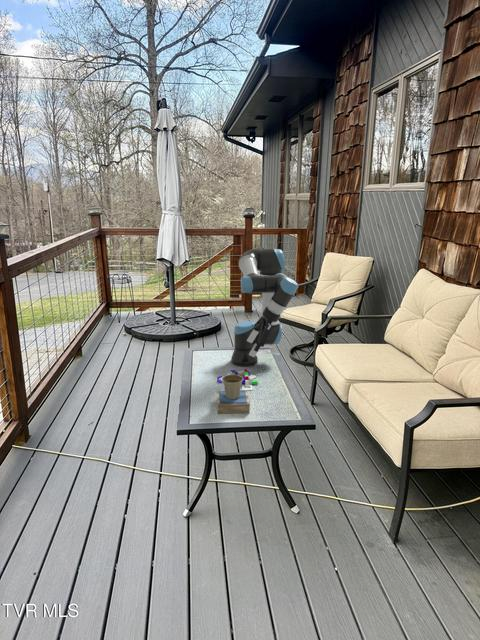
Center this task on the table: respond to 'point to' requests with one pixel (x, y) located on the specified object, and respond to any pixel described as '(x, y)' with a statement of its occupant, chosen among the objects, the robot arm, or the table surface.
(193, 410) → the table surface
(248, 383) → the building block set
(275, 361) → the table surface
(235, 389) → the flower pot
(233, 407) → the plinth
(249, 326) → the robot arm
